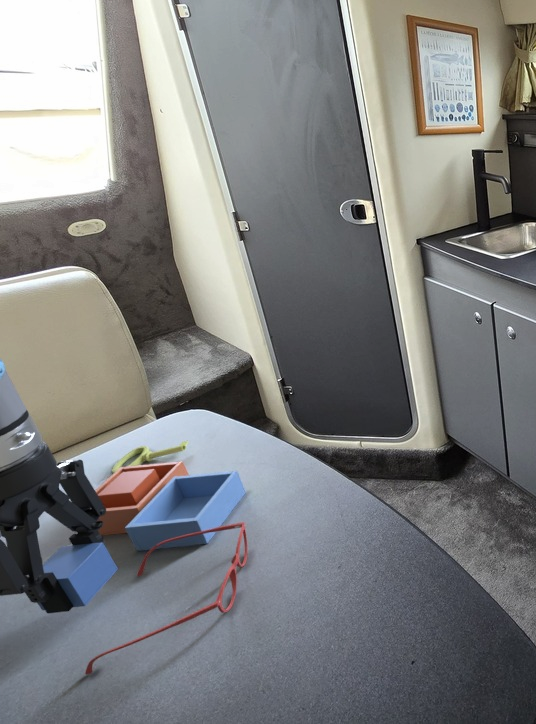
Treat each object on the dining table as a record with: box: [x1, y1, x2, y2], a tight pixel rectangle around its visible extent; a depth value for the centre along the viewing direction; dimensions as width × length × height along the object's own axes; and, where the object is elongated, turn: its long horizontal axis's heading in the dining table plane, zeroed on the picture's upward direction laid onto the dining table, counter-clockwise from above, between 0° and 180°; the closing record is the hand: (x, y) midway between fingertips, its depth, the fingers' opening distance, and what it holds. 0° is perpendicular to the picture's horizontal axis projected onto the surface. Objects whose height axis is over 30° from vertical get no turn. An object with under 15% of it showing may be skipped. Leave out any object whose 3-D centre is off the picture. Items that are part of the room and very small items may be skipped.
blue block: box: [37, 541, 119, 611], centre depth 69 cm, size 6×6×6 cm
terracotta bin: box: [94, 461, 190, 537], centre depth 87 cm, size 11×11×5 cm
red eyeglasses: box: [84, 521, 248, 675], centre depth 71 cm, size 17×16×5 cm
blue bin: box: [125, 470, 247, 552], centre depth 84 cm, size 11×11×5 cm
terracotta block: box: [98, 469, 160, 508], centre depth 87 cm, size 6×6×6 cm
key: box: [111, 440, 190, 475], centre depth 100 cm, size 7×12×2 cm, turn 122°
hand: (80, 587), depth 69 cm, fingers closed on blue block, 5 cm apart
